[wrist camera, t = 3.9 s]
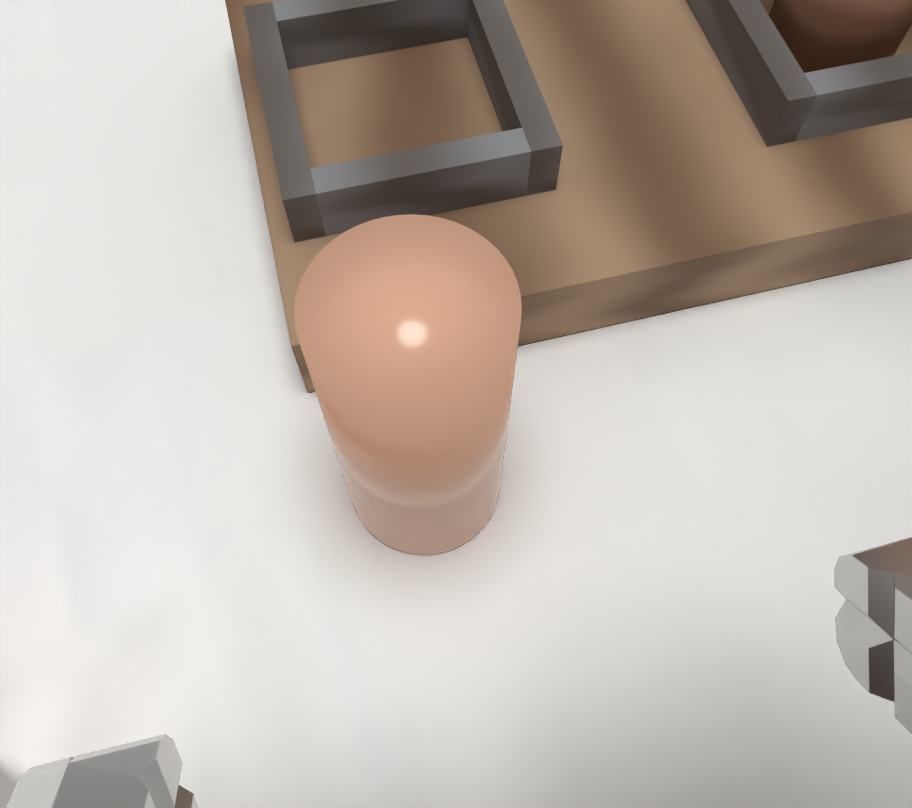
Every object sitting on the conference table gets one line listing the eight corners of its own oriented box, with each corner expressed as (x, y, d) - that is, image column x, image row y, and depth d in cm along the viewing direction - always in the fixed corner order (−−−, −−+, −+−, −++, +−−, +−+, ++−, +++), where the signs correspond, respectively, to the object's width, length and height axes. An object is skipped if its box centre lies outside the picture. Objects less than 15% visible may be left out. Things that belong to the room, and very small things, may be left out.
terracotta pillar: (478, 402, 27) (488, 196, 18) (517, 534, 25) (550, 377, 16) (338, 433, 26) (277, 238, 18) (367, 571, 24) (314, 430, 16)
